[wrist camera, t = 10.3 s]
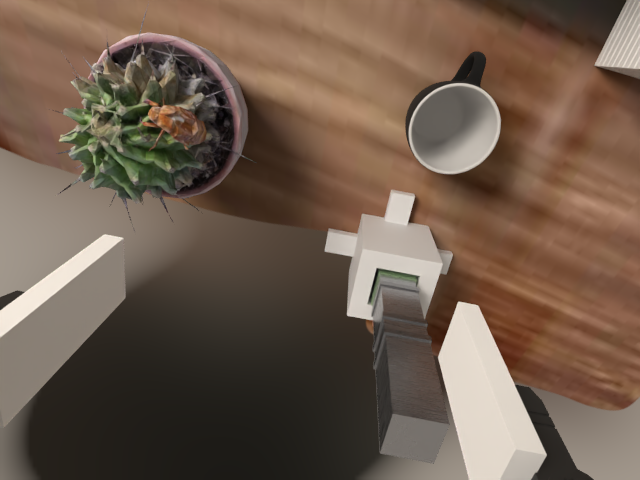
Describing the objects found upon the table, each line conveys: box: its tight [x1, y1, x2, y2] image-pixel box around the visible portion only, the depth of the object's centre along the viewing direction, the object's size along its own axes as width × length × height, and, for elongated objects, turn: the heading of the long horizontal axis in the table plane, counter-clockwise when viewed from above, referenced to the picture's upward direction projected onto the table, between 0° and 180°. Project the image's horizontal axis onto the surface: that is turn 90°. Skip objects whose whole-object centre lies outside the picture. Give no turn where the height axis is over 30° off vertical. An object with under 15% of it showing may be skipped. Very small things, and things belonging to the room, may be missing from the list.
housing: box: [325, 190, 453, 320], centre depth 54 cm, size 17×17×11 cm
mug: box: [406, 52, 501, 174], centre depth 46 cm, size 12×9×10 cm
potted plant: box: [49, 6, 257, 213], centre depth 42 cm, size 18×20×25 cm
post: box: [371, 268, 450, 463], centre depth 41 cm, size 4×4×24 cm
